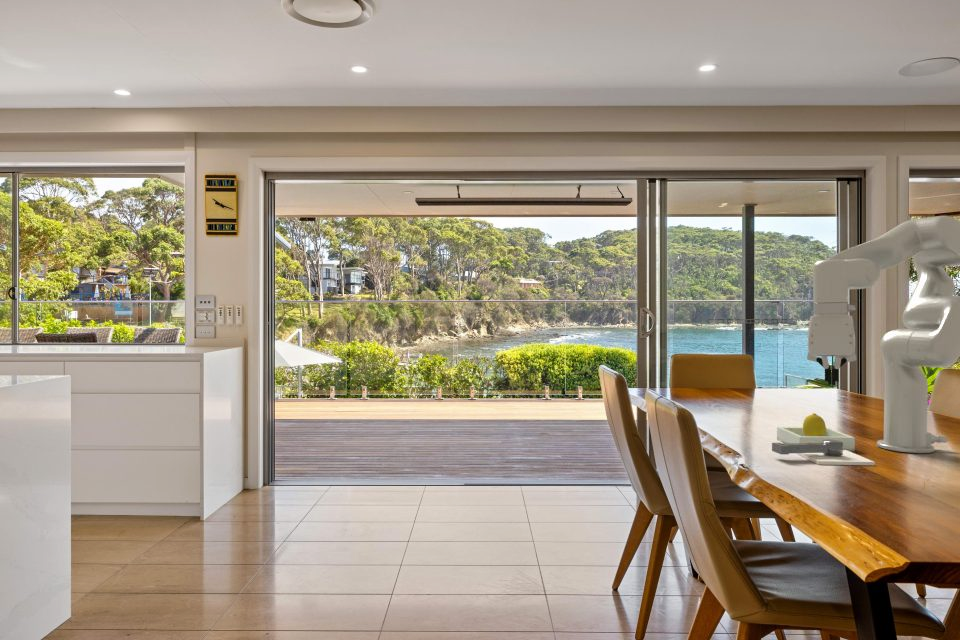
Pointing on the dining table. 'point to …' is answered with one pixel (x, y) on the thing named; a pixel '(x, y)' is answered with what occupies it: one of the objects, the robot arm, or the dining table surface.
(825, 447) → the crank
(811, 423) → the lemon
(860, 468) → the dining table surface
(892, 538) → the dining table surface
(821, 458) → the crank board
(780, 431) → the tray
